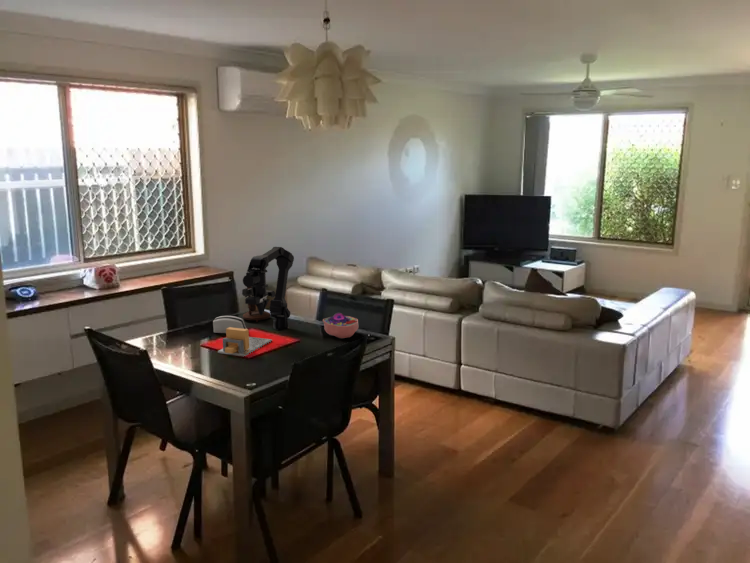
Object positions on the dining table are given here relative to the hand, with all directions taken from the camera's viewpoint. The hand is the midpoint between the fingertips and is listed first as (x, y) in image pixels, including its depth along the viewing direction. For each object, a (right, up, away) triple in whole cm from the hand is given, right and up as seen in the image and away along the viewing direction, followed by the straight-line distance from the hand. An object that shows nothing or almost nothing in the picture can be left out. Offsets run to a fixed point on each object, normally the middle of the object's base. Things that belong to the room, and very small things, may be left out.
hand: (261, 314), depth 309 cm
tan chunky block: (-9, -15, -19) cm, 26 cm away
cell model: (+38, -11, +4) cm, 40 cm away
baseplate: (-5, -15, -11) cm, 19 cm away
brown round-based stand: (-9, -5, +37) cm, 39 cm away
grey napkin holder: (-18, -10, +13) cm, 24 cm away
